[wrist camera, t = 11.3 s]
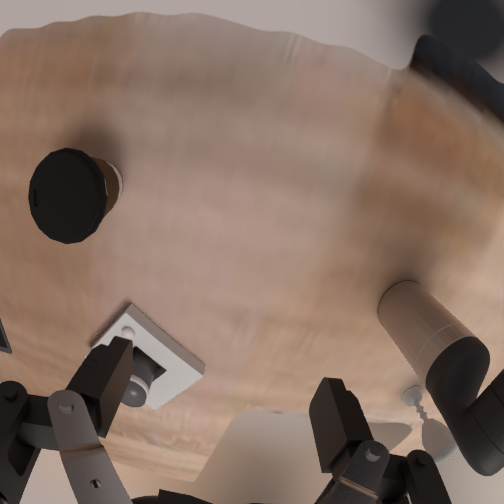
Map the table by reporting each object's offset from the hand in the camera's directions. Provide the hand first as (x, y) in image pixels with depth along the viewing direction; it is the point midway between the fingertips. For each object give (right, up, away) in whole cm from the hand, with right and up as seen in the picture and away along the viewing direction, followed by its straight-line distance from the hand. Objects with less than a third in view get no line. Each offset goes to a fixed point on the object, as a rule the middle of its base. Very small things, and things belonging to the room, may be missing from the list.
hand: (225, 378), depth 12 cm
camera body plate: (-17, -13, +37) cm, 43 cm away
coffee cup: (-20, +15, +28) cm, 37 cm away
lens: (-17, -13, +37) cm, 43 cm away
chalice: (+35, -25, +42) cm, 61 cm away
